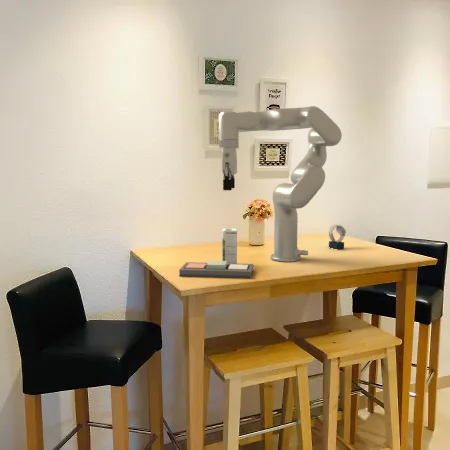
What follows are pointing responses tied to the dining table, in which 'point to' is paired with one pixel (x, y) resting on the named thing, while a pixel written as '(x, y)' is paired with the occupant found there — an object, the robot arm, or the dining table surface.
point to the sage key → (216, 265)
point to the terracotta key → (195, 266)
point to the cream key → (238, 267)
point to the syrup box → (229, 245)
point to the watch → (338, 243)
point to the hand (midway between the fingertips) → (229, 189)
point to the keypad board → (216, 272)
